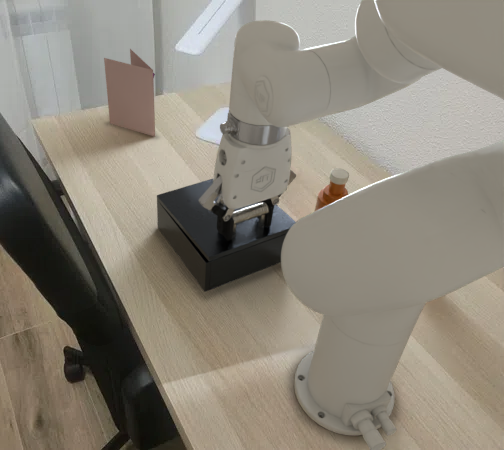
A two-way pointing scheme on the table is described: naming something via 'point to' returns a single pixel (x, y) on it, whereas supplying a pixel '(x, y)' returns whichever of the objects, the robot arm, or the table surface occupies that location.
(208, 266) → the black hinged jewelry box
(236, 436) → the table surface
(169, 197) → the lid
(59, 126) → the table surface
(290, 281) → the robot arm
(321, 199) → the bottle
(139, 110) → the greeting card
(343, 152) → the table surface
